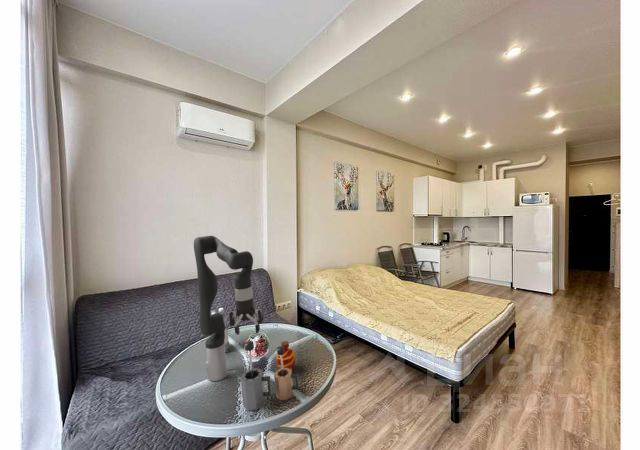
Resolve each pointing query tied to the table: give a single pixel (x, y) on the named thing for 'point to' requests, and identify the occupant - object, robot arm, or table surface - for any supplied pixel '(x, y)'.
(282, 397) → the tan handled cylinder
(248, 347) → the steel press plunger
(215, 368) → the robot arm
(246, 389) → the steel press carafe
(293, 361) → the potion bottle
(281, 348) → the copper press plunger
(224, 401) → the table surface
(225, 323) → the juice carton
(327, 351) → the table surface
